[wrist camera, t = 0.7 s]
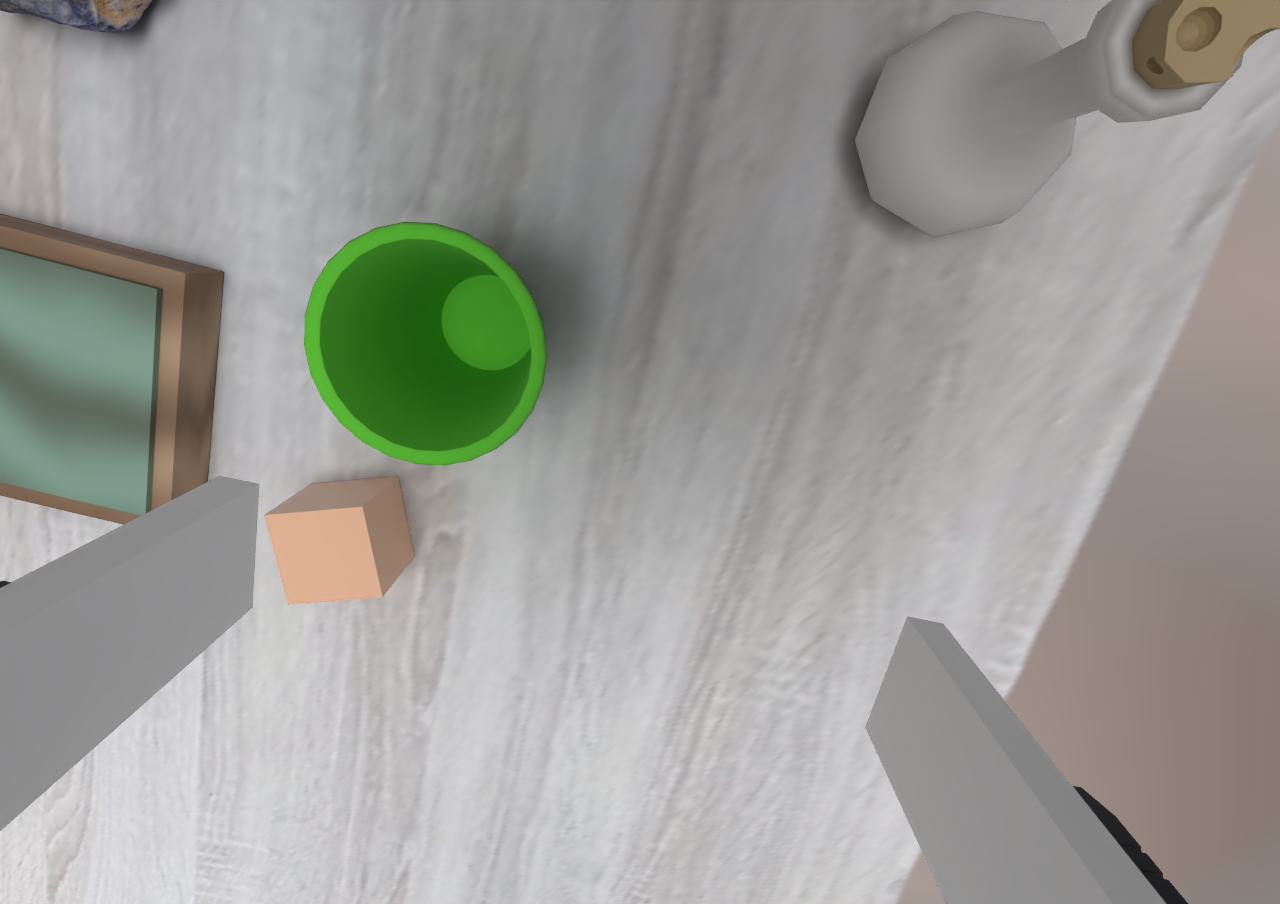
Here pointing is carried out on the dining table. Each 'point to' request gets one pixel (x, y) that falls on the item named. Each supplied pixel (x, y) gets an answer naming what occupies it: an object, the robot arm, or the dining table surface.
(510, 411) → the cup
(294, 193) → the dining table surface
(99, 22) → the rock
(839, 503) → the dining table surface
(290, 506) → the terracotta block
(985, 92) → the potion bottle
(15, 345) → the tray
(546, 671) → the dining table surface
